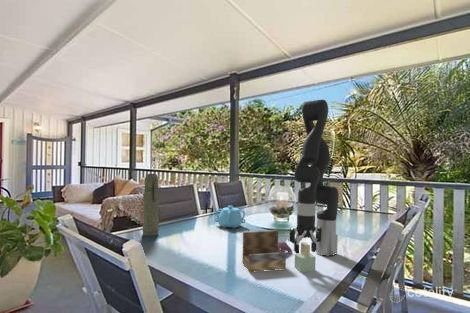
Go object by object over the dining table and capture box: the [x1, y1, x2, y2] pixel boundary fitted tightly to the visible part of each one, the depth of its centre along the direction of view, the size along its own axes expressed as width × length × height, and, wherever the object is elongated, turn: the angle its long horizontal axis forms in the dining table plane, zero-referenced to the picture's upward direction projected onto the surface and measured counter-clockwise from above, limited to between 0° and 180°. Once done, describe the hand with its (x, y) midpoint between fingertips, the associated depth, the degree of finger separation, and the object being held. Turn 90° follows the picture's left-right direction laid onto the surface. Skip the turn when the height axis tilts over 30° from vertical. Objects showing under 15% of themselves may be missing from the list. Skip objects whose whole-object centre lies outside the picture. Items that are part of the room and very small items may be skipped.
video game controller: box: [278, 241, 293, 253], centre depth 146 cm, size 10×5×7 cm, turn 141°
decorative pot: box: [214, 205, 246, 229], centre depth 198 cm, size 16×16×14 cm
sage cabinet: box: [294, 241, 317, 273], centre depth 128 cm, size 7×5×11 cm
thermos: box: [142, 173, 160, 238], centre depth 174 cm, size 9×12×35 cm
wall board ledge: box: [241, 229, 287, 273], centre depth 130 cm, size 16×10×14 cm, turn 105°
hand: (305, 252), depth 128 cm, fingers open, 7 cm apart
